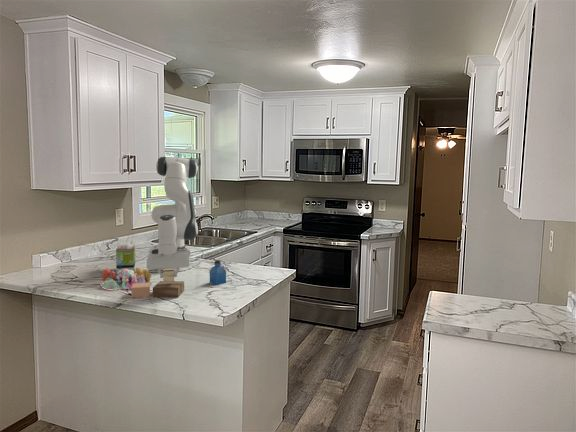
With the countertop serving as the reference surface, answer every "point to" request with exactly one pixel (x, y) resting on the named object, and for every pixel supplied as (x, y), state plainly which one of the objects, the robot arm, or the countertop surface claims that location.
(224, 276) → the perfume bottle
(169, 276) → the maple cube
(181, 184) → the robot arm
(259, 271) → the countertop surface
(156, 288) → the walnut block
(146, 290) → the terracotta block
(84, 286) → the countertop surface
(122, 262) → the tea box
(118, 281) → the candy landscape model
